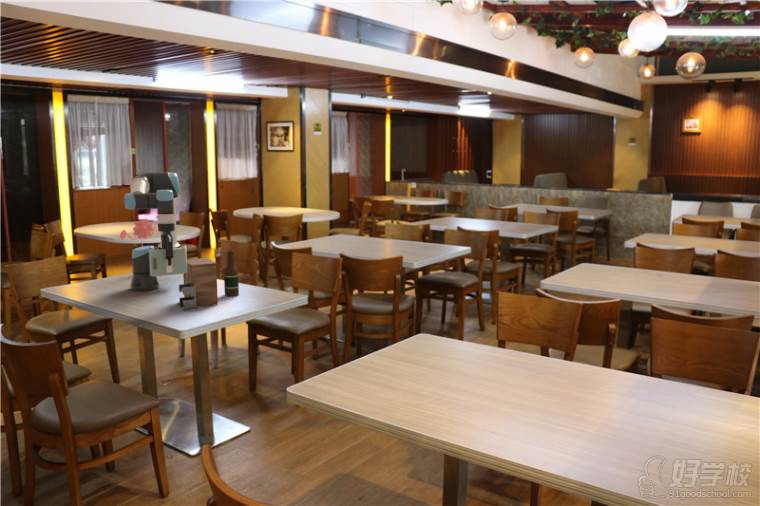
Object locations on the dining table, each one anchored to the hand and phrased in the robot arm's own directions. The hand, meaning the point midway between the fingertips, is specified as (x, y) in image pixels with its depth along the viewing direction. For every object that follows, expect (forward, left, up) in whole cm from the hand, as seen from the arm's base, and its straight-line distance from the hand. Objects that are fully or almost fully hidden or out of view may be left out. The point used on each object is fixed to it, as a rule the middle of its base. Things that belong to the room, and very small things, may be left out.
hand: (168, 271), depth 308 cm
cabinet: (-8, +17, -19) cm, 27 cm away
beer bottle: (-16, +36, -20) cm, 45 cm away
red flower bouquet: (-91, +8, -20) cm, 94 cm away
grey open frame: (+1, +8, -19) cm, 21 cm away
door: (0, 0, -1) cm, 1 cm away
